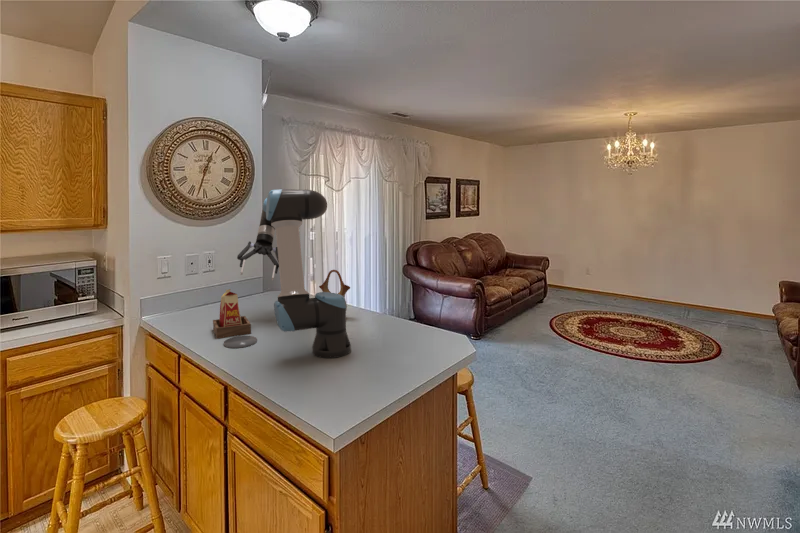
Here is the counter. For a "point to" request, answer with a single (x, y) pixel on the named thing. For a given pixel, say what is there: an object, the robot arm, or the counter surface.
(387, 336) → the counter surface
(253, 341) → the slate coaster
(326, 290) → the brown handbag
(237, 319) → the milk carton
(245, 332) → the walnut cradle
